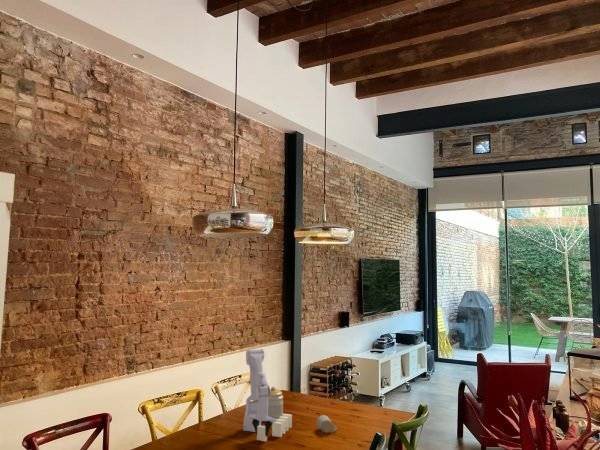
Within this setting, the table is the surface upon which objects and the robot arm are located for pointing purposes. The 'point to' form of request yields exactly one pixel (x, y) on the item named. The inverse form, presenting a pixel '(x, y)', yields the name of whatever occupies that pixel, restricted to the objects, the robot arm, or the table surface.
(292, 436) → the table surface
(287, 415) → the tile
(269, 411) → the jar
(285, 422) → the tile
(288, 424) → the tile
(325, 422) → the ceramic mug
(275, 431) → the tile
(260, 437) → the tile
